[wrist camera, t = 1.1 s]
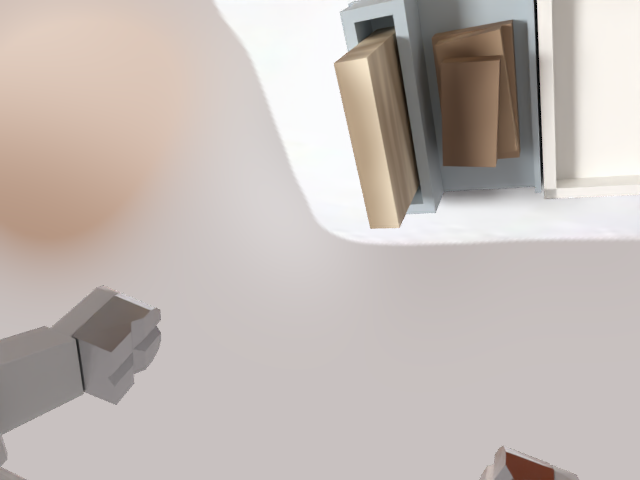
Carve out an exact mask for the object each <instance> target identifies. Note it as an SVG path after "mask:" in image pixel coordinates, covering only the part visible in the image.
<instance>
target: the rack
mask: <svg viewBox="0 0 640 480" xmlns="http://www.w3.org/2000/svg"><path fill="white" fill-rule="evenodd" d="M348 5H349V7H348V8H346V9H344V10H343V11H341V12H340V15H341V20H342V25H343V30H344V35H345V39H346V44H347V49H348V52H349V51H350V50H351V49H353V48H354V47H355V46H356V45H358V44H359V43H360V42H361V41H363V40H364V39H365V38H366V37H368V36H369V35H370V34H371V33H373V32H374V31H375V30H376V29H381V28H386V27H391V26H395V31H396V38H397V44H398V50H399V56H400V62H401V68H402V75H403V81H404V87H405V93H406V99H407V106H408V112H409V118H410V124H411V130H412V136H413V143H414V149H415V155H416V161H417V167H418V173H419V180H420V185H419V187H418V189H417V191H416V193H415V195H414V197H413V200H412V202H411V204H410V206H409V208H408V210H407V212H406V214H421V213H436V210H437V208H438V205H439V203H440V200H441V197H442V195H443V192H445V191H463V190H482V189H500V188H519V187H535V193H541V188H542V168H541V142H540V117H539V91H538V66H537V40H536V14H535V0H358V1H354V2H351V3H350V4H348ZM512 19H513V29H514V46H515V63H516V80H517V97H518V114H519V131H520V148H521V151H520V157H518V158H505V159H497V164H496V167H457V166H443V151H442V115H441V107H440V100H439V92H438V84H437V77H436V69H435V62H434V54H433V46H432V39H431V38H432V37H433V36H434V34H436V33H442V32H447V31H453V30H458V29H463V28H469V27H474V26H480V25H485V24H491V23H496V22H501V21H507V20H512Z"/></svg>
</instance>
